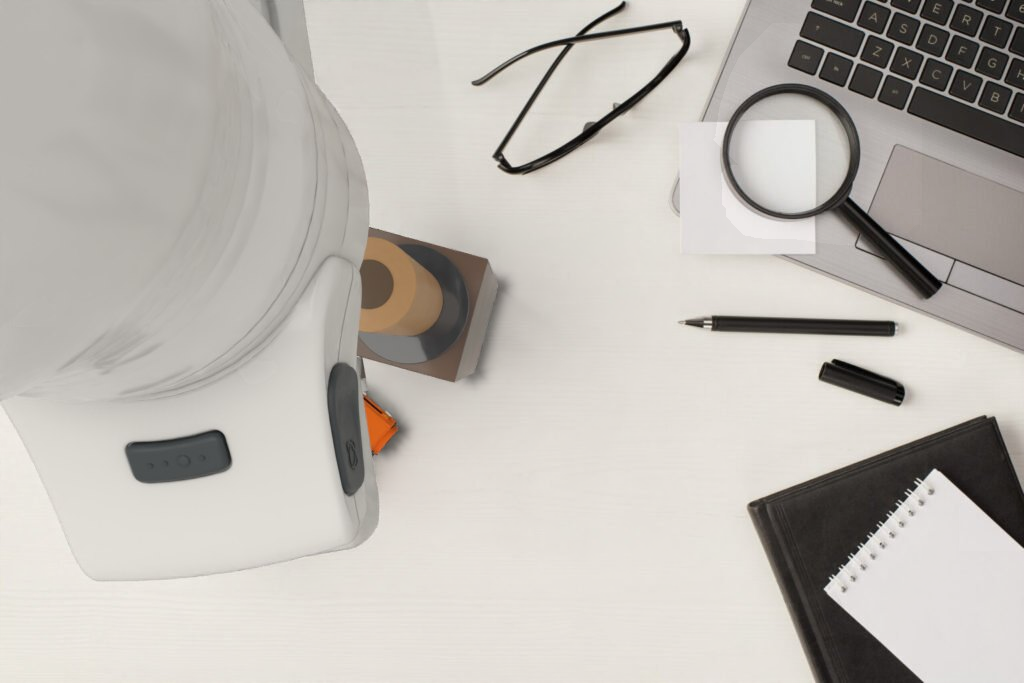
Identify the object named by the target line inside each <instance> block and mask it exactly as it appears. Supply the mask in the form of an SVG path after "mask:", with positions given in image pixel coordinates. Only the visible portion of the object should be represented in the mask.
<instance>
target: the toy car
mask: <svg viewBox="0 0 1024 683" xmlns="http://www.w3.org/2000/svg"><path fill="white" fill-rule="evenodd" d="M363 399H364V405H365V412H366V418H367V425H368V432H369V438H370V445H371V451H372V458H373V457H374V456H375V455H376V456H378V454H379V453H380V451H381V450H382V449H383V448H384V447H385V445H386V444H387V443H388V442H389V441H390V440H391V438H392V437H393V436H394V435H395V434H396V433H397V432H398V431H399V428H398V426H396V424H397V420H396V419H394V417H393V416H392V414H391V413H390V412H389V411H388V410H385V409H383V408H381V406H379V405H378V404H376V402H375V401H373V400H372V399H371V398H370V397H368V396H367V393H366V391H364V392H363Z"/></svg>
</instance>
